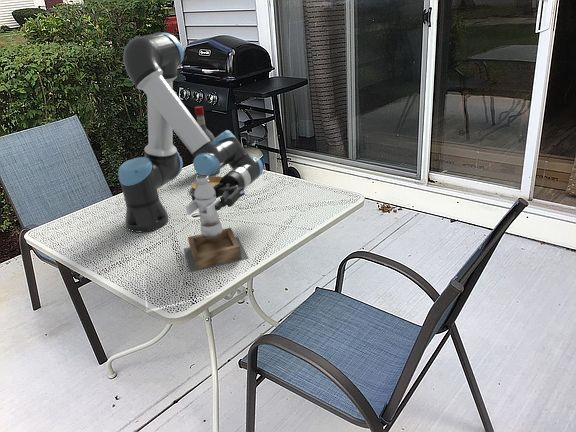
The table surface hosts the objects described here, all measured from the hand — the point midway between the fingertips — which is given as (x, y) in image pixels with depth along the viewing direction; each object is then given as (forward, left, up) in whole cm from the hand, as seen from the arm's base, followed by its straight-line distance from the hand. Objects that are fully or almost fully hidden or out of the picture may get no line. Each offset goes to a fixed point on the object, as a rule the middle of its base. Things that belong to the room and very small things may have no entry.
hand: (197, 211), depth 144 cm
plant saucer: (+11, +62, -18) cm, 65 cm away
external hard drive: (+30, +67, -18) cm, 75 cm away
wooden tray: (+3, +4, -17) cm, 18 cm away
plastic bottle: (+3, +4, -11) cm, 12 cm away
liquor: (+14, +81, -18) cm, 84 cm away
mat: (+3, +4, -17) cm, 18 cm away
